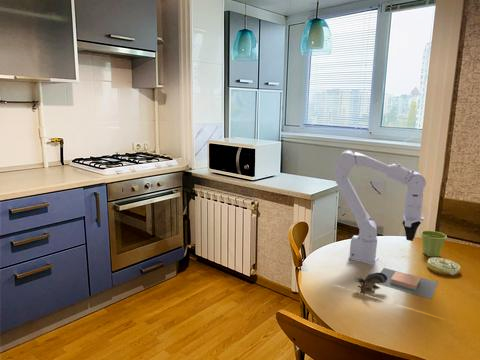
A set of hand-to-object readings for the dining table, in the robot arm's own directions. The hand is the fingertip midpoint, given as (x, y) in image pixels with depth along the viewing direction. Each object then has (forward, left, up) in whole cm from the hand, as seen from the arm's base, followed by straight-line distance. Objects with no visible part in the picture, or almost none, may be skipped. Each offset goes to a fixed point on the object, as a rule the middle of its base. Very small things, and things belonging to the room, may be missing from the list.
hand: (409, 240), depth 135 cm
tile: (+3, -12, -9) cm, 15 cm away
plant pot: (+6, +18, -11) cm, 22 cm away
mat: (+3, -15, -10) cm, 19 cm away
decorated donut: (+12, +4, -11) cm, 16 cm away
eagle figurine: (-6, -28, -11) cm, 30 cm away
